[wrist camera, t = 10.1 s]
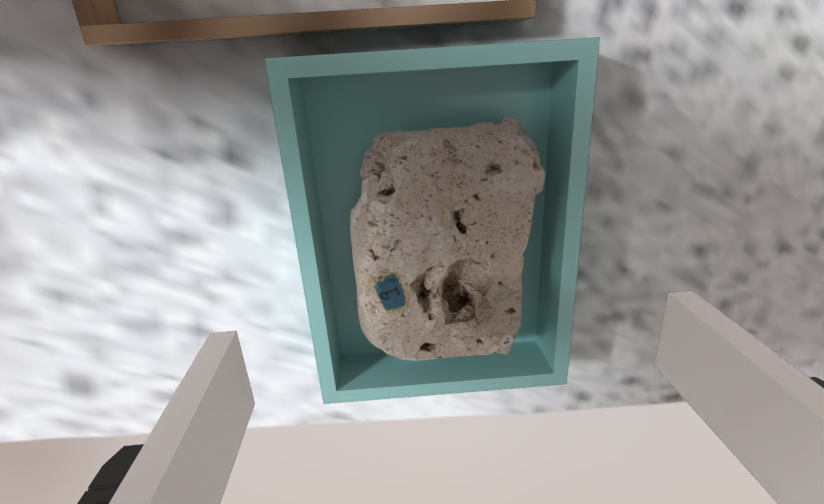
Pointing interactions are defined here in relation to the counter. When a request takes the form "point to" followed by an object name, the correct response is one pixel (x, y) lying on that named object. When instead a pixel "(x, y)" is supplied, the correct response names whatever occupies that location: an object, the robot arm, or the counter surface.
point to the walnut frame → (287, 21)
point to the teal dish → (416, 111)
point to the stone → (444, 238)
